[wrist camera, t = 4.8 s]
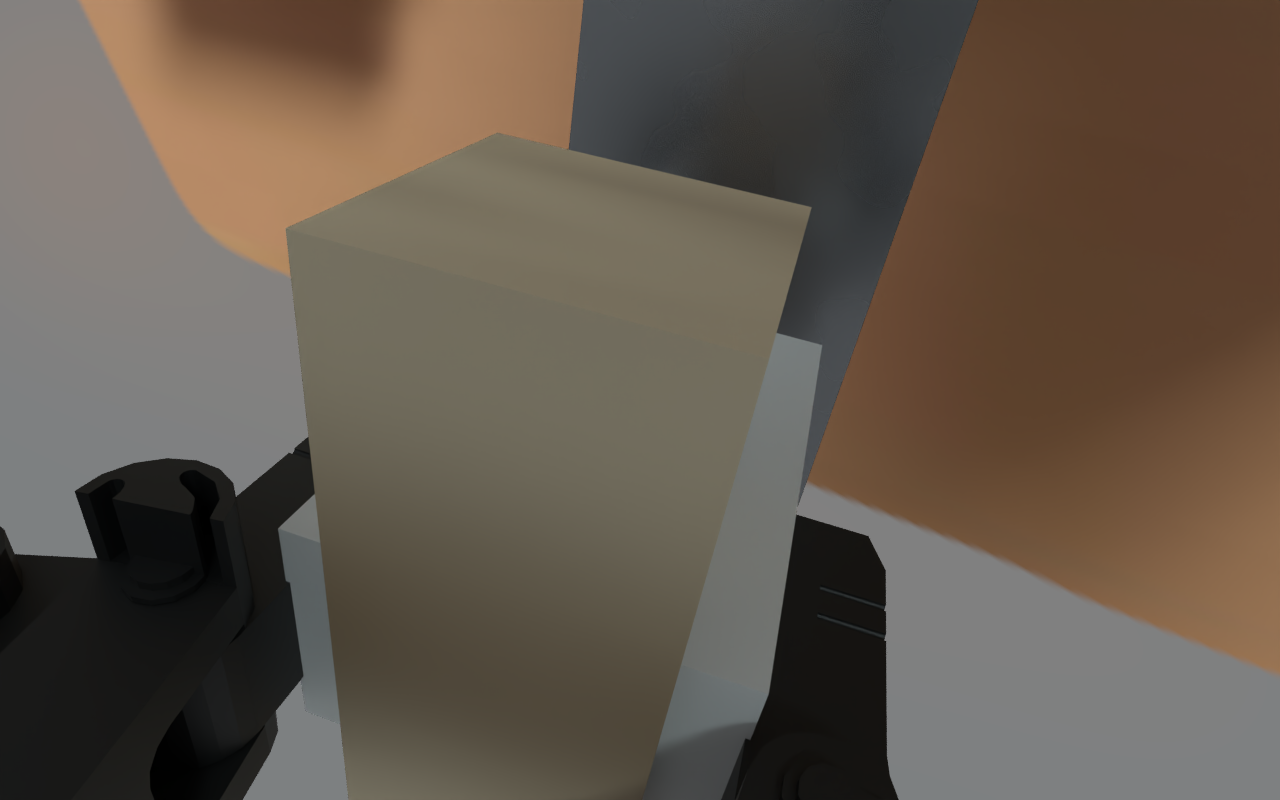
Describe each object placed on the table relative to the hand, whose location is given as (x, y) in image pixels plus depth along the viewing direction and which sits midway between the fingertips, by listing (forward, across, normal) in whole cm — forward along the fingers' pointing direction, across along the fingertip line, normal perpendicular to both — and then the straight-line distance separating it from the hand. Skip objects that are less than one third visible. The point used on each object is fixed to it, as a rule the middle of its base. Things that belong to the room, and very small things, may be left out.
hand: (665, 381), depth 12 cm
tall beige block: (+3, 0, +1) cm, 3 cm away
